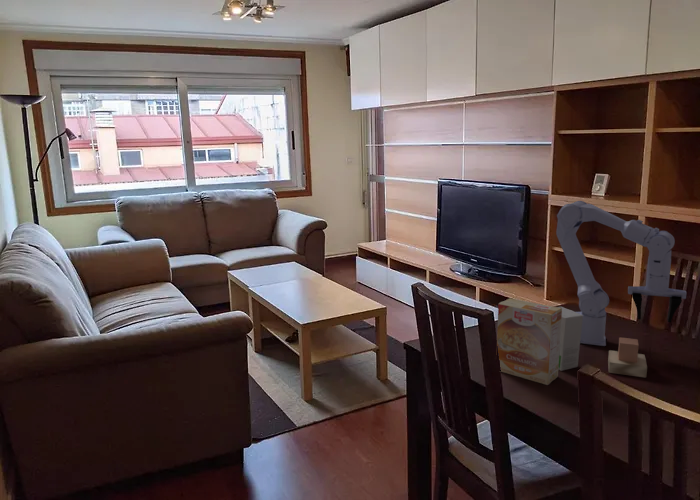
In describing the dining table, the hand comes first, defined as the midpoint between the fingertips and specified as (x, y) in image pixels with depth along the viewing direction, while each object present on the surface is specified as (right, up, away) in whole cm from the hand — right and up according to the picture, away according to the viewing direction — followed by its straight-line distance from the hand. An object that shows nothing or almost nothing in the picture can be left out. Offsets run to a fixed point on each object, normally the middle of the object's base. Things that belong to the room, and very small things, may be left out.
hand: (653, 319), depth 158 cm
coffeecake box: (-40, -14, -9) cm, 43 cm away
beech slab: (-12, -13, -8) cm, 19 cm away
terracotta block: (-12, -10, -8) cm, 17 cm away
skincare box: (-29, -12, -3) cm, 31 cm away
